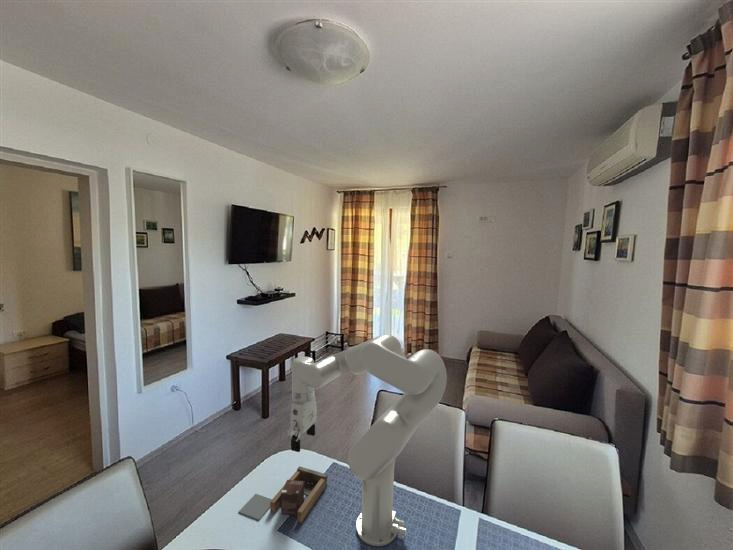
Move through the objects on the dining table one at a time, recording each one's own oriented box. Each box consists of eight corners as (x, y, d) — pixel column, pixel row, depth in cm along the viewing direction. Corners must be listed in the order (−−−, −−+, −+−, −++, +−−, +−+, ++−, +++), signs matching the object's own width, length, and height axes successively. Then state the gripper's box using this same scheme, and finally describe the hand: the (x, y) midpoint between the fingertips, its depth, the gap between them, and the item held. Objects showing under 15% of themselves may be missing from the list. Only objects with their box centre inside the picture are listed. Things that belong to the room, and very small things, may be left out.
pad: (275, 501, 104) (275, 500, 104) (259, 520, 97) (259, 519, 97) (255, 494, 107) (255, 493, 107) (238, 512, 100) (238, 511, 100)
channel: (327, 484, 112) (327, 474, 112) (301, 523, 96) (301, 511, 96) (299, 476, 116) (299, 466, 116) (270, 511, 100) (270, 500, 100)
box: (304, 501, 105) (304, 480, 104) (299, 516, 99) (299, 494, 98) (287, 499, 105) (287, 479, 105) (280, 514, 99) (280, 493, 99)
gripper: (298, 407, 96) (299, 460, 98) (325, 385, 113) (325, 431, 114) (278, 403, 99) (279, 455, 100) (306, 382, 115) (307, 427, 116)
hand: (303, 442), depth 107 cm, fingers open, 9 cm apart
